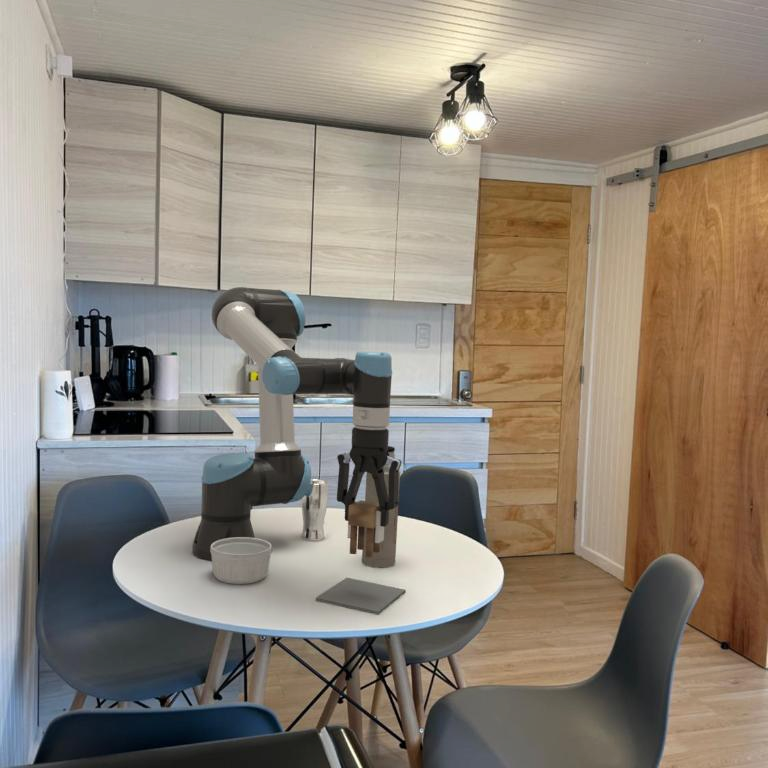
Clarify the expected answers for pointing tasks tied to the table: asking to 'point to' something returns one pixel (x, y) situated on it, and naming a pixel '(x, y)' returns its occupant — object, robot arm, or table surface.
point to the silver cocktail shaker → (314, 510)
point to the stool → (363, 526)
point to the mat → (361, 595)
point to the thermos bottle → (390, 531)
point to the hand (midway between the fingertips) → (365, 538)
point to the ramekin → (240, 559)
